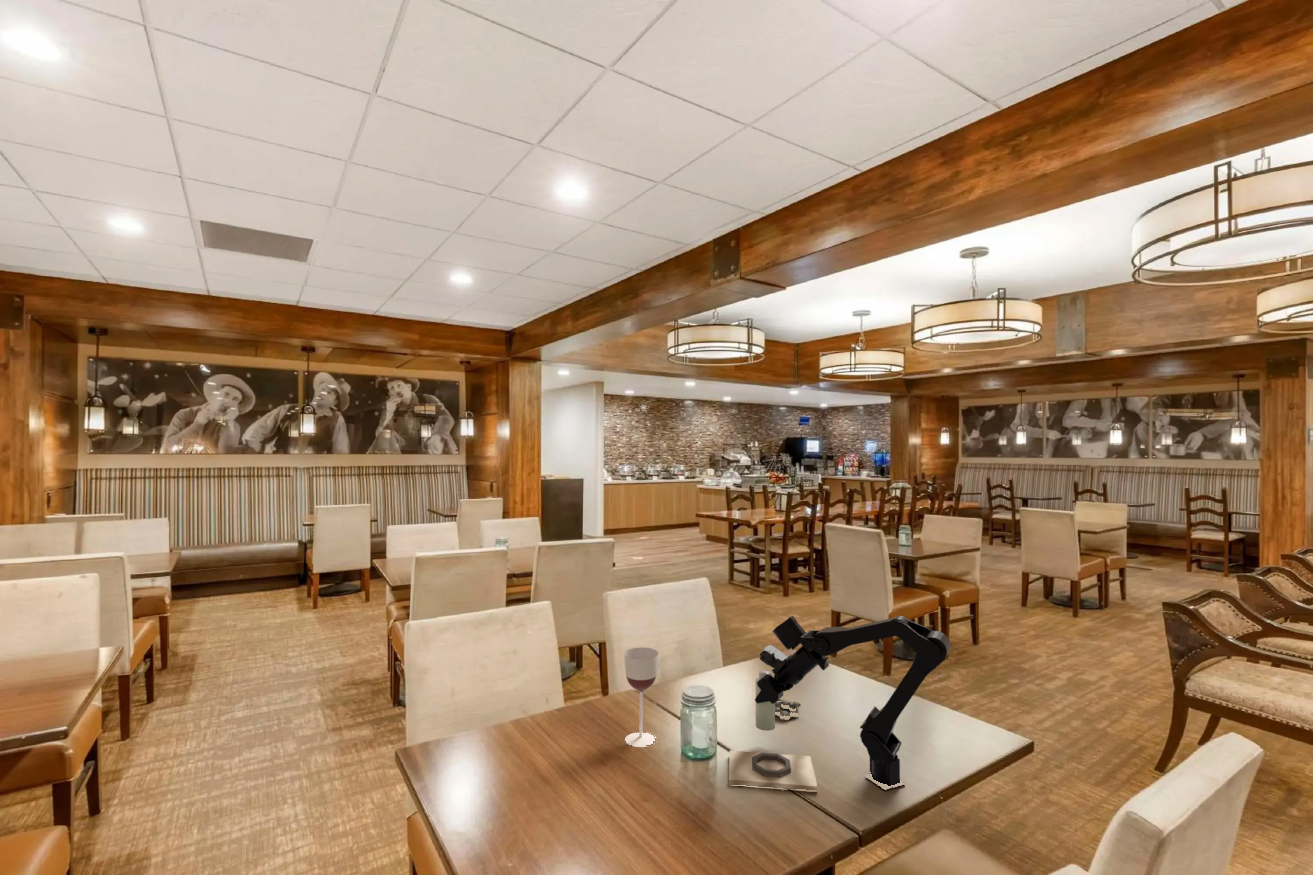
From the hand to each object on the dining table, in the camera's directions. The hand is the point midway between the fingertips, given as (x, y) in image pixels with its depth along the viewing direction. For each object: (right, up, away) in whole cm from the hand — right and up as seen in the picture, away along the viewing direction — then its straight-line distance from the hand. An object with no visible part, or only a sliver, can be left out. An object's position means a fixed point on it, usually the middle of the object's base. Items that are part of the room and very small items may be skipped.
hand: (760, 698), depth 159 cm
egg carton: (+9, -14, +20) cm, 26 cm away
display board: (0, -12, -15) cm, 19 cm away
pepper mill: (+1, -7, -1) cm, 7 cm away
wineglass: (-32, -12, +3) cm, 34 cm away
